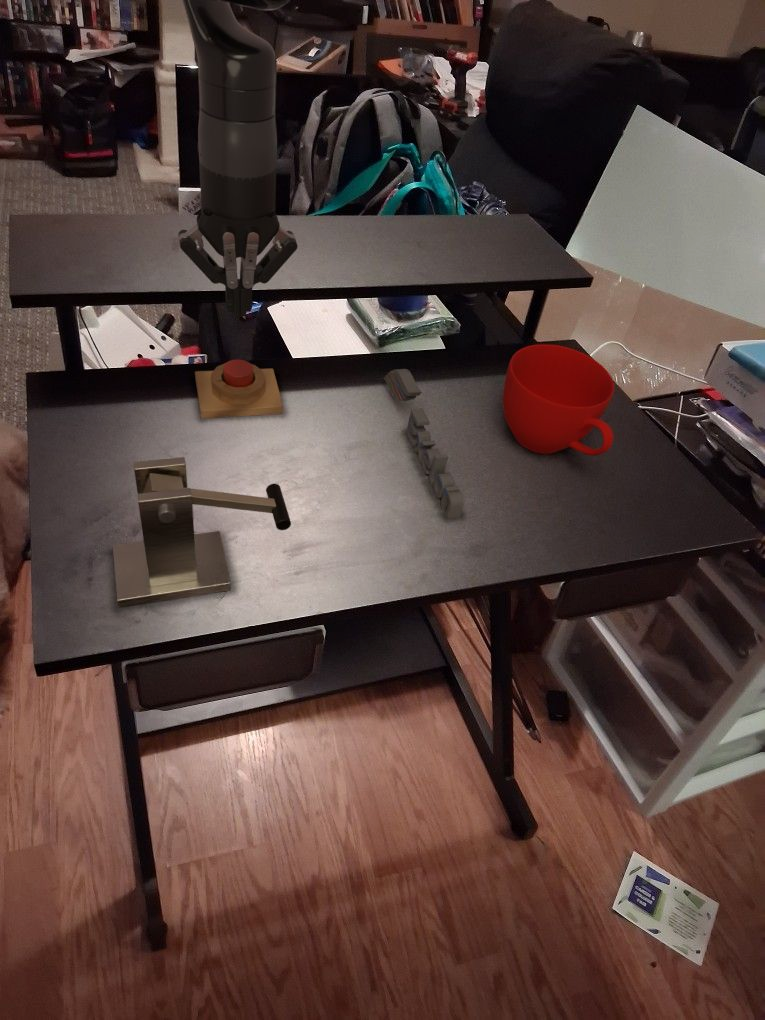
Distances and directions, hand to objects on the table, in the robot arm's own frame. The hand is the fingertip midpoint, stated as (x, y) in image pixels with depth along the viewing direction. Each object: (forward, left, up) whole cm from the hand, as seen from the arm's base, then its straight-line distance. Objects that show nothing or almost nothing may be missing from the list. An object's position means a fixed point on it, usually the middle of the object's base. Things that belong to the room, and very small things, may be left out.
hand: (239, 312), depth 84 cm
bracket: (+2, -29, -12) cm, 31 cm away
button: (0, 0, -9) cm, 9 cm away
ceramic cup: (+40, +3, -12) cm, 42 cm away
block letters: (+23, -2, -12) cm, 27 cm away
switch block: (0, 0, -12) cm, 12 cm away
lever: (+6, -27, -4) cm, 28 cm away
